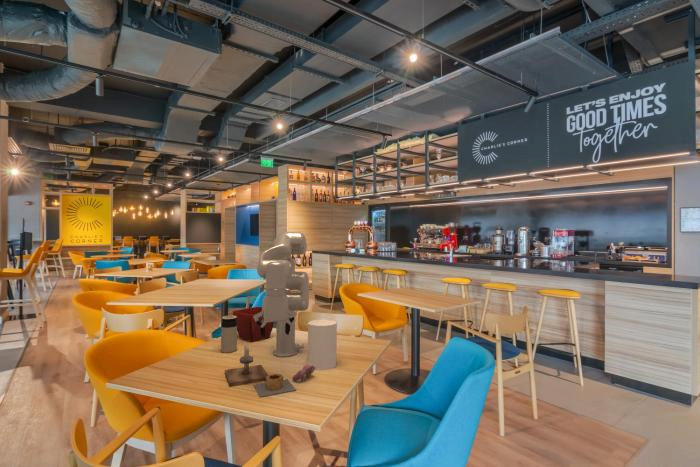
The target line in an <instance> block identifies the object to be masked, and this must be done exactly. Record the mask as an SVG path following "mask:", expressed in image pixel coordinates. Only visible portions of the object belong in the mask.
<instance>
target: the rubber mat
mask: <svg viewBox="0 0 700 467" xmlns="http://www.w3.org/2000/svg"><path fill="white" fill-rule="evenodd" d="M253 387H254V389H255V391H256V392H257V394H258V397H259V398H264V397H270V396H275V395H280V394H281V395H282V394H286V393H290V392H291V393H292V392H296V391H297V388H295V387H294V385H293V384H292V383H291V381H290V380H289V379H288V378H285V379H283V388H281V389H280V390H275V391H271V390H267V389H266V382H263V383H261V382H260V383H254V384H253Z"/></svg>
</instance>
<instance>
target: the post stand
mask: <svg viewBox="0 0 700 467" xmlns="http://www.w3.org/2000/svg"><path fill="white" fill-rule="evenodd" d="M243 348H244V349H243V350H244V352H243V354H244V355H243V356H241V357H240V358H239V363H240V364H242V365H244V366H242V367H236V368H229V369H225V370H224V375H225V378H226V381H227V384H228V387H230V388H231V387H237V386H242V385H249V384H257V383H261V382H266V377H267V376H268V375H269V374H268V372H267V371H266V370H265V368H264V367H263V365H262V364H257V365H250V364H251V363H253V362H254V356H251V355H250V345H244V346H243Z"/></svg>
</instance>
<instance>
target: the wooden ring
mask: <svg viewBox="0 0 700 467" xmlns="http://www.w3.org/2000/svg"><path fill="white" fill-rule="evenodd" d="M283 380H284V376H283V375H282V374H279V373H272V374H268V376H267V377H266V381H265V383H266V389H267V390H271V391H275V390H280V389H281V388H283Z"/></svg>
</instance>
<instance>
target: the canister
mask: <svg viewBox="0 0 700 467" xmlns="http://www.w3.org/2000/svg"><path fill="white" fill-rule="evenodd" d="M337 327H338V322H337V321H336V320H333V319H326V318H325V319H323V318H321V319H313V320H310V321H308V323H307V365H310V364H311V365H313V366H314V367H315V370H316V371H325V370H326V371H328V370H331V369H334V368H335V367H336V366H337V350H338V349H337V344H338V343H337V342H338V341H337V340H338V339H337V337H338V335H337V333H338V332H337V329H338V328H337ZM315 370H314V371H315Z"/></svg>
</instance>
